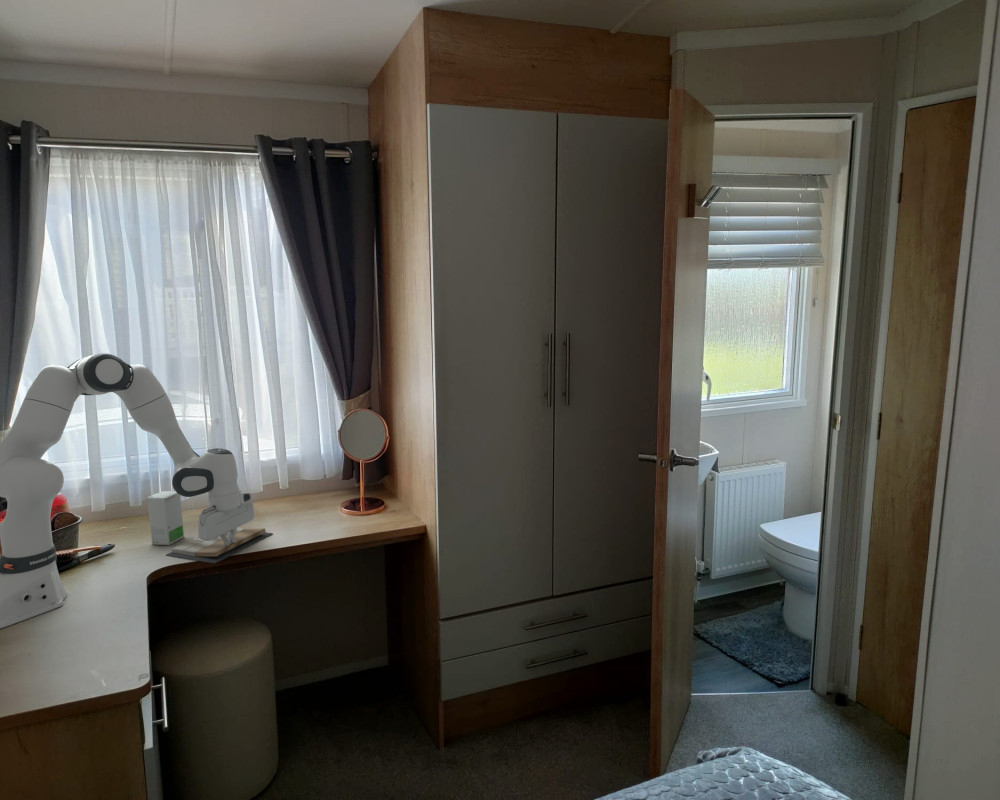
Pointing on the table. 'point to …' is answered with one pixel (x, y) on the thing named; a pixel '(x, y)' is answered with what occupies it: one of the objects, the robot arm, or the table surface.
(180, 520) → the skincare box
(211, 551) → the plank
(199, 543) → the laid floor
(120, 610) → the table surface
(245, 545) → the underlay
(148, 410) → the robot arm
